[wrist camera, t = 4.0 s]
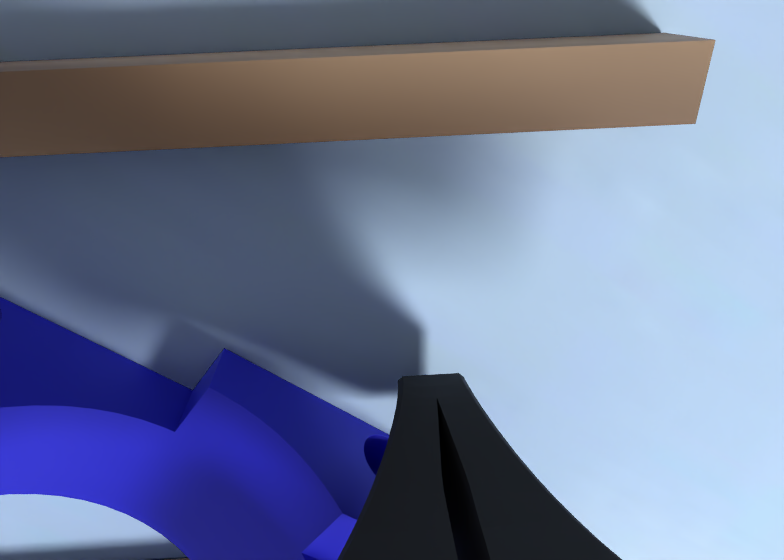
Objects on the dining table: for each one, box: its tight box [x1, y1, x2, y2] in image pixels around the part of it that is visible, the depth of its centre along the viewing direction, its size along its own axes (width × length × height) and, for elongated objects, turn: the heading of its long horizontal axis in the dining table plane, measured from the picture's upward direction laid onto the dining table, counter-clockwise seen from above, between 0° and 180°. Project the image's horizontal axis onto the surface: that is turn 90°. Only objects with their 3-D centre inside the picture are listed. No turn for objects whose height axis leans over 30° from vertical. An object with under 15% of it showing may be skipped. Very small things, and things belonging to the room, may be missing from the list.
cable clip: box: [0, 297, 389, 560], centre depth 10 cm, size 12×4×6 cm, turn 53°
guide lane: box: [0, 33, 715, 560], centre depth 11 cm, size 15×25×4 cm, turn 92°
